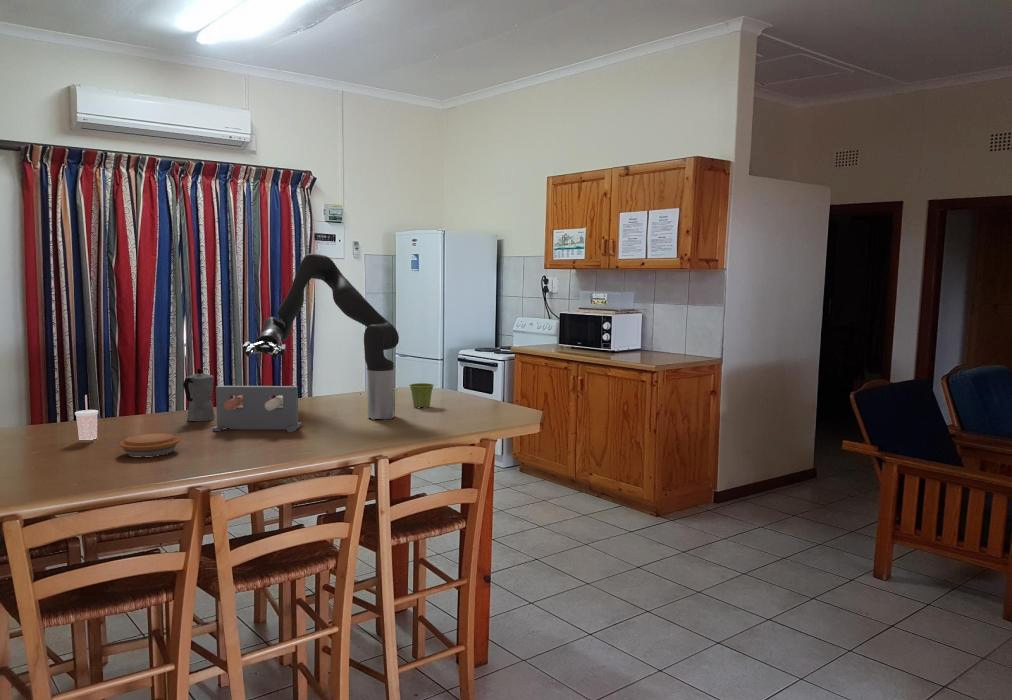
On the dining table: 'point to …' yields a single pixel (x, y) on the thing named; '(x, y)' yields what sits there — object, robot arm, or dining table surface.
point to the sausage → (233, 402)
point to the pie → (150, 444)
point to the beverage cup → (87, 423)
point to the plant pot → (421, 394)
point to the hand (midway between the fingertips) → (260, 355)
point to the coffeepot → (199, 396)
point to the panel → (257, 408)
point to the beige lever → (274, 403)
